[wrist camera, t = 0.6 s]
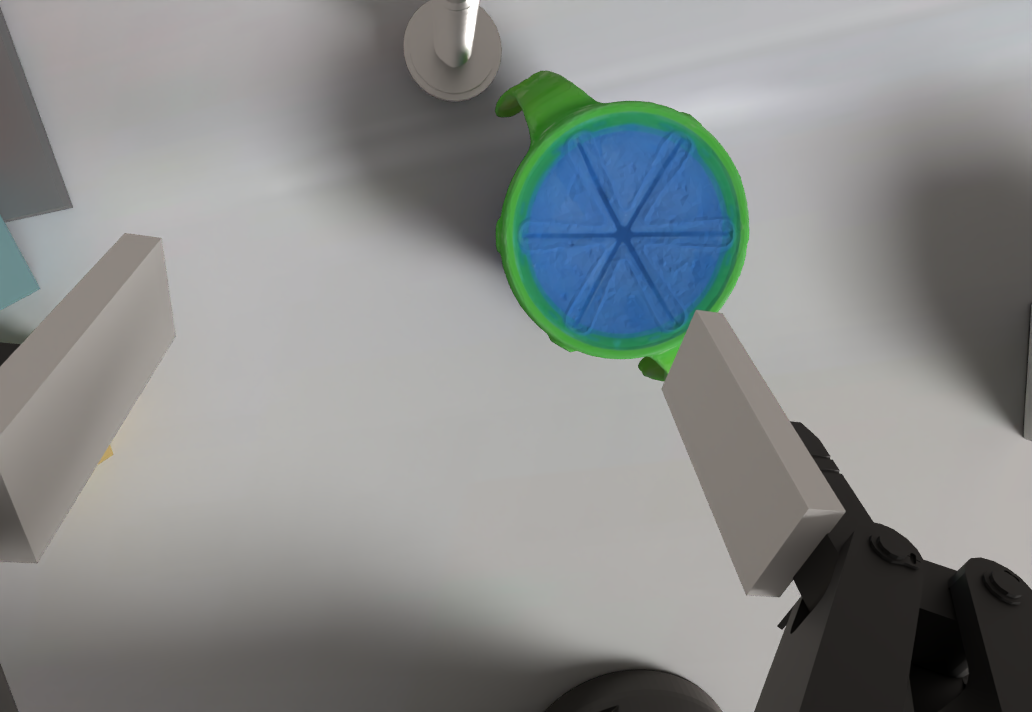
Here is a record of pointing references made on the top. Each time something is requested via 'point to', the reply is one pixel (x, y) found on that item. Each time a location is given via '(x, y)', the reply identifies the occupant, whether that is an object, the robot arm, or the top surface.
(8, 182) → the base
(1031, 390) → the supplement box
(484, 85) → the screw
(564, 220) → the snack cup
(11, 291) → the teal brick
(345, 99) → the top surface
